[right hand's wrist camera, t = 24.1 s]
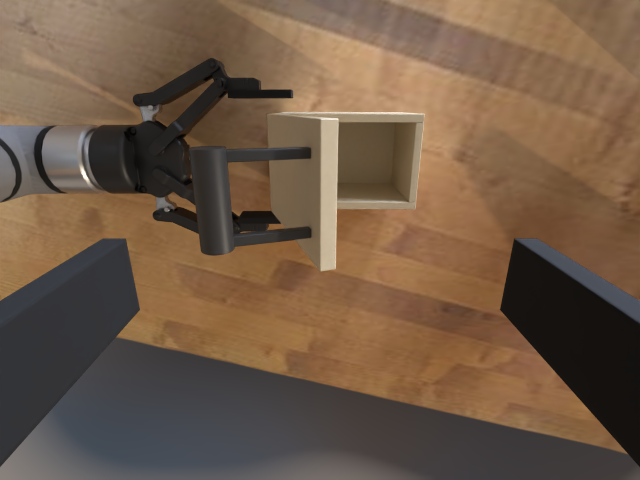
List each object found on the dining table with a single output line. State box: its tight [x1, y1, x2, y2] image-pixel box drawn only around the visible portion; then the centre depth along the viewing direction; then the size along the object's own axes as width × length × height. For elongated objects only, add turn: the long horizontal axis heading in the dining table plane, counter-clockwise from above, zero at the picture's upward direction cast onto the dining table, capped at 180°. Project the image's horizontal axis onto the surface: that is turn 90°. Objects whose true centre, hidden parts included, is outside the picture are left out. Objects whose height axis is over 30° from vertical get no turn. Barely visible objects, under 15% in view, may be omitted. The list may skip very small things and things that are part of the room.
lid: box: [189, 114, 338, 271], centre depth 28 cm, size 16×10×8 cm
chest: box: [274, 112, 424, 209], centre depth 42 cm, size 15×10×11 cm, turn 90°
